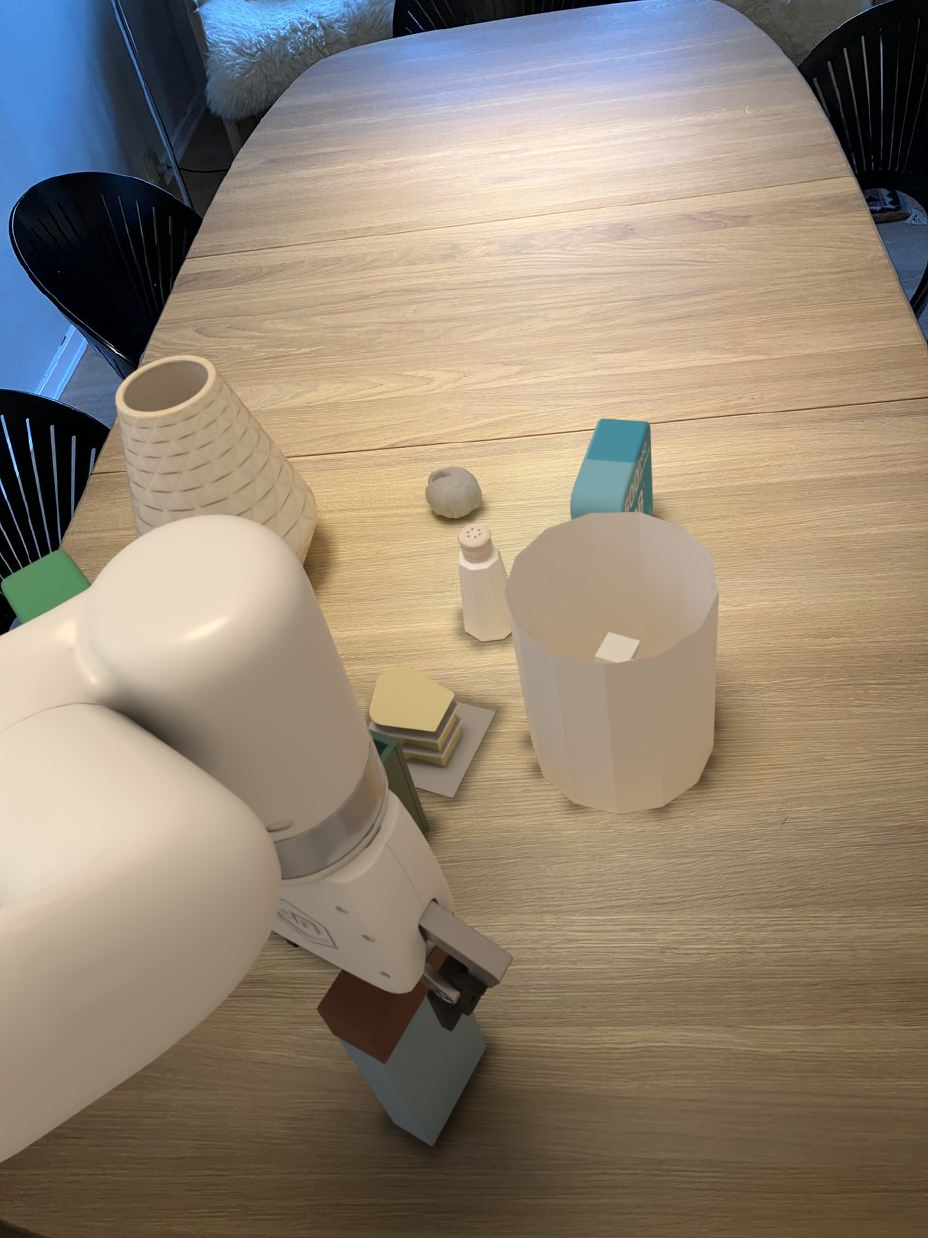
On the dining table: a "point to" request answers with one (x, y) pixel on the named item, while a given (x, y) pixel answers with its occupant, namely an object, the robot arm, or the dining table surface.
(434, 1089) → the grey-blue rectangular block
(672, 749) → the container
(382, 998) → the reddish brown block
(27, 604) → the headphones
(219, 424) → the vase
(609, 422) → the teal box
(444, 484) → the garlic
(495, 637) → the pepper shaker
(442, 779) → the stacked layers on plate
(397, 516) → the dining table surface
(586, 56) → the dining table surface
